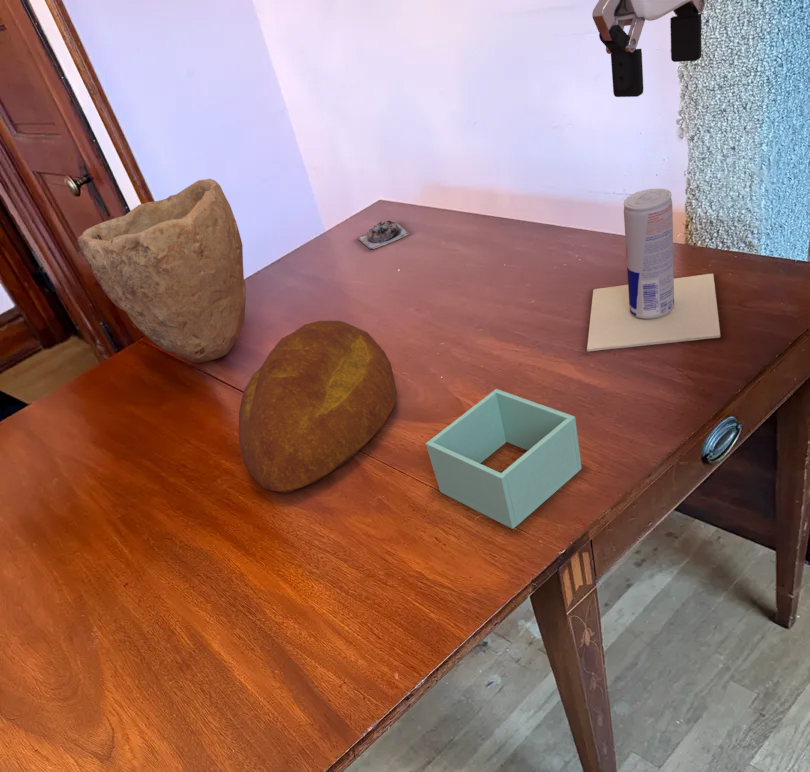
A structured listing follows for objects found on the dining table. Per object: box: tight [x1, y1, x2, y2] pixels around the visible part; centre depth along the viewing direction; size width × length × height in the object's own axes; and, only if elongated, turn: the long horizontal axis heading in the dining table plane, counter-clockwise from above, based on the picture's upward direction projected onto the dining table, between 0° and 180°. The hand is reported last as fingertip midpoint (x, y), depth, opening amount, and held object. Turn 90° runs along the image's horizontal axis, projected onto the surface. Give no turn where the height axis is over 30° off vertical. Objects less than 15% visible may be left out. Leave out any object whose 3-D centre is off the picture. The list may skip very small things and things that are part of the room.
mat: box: [586, 272, 721, 353], centre depth 100 cm, size 16×16×1 cm
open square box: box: [425, 388, 582, 530], centre depth 80 cm, size 11×11×7 cm
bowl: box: [77, 178, 247, 364], centre depth 117 cm, size 22×22×25 cm
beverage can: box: [623, 187, 675, 319], centre depth 94 cm, size 6×6×15 cm
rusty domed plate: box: [358, 220, 410, 250], centre depth 143 cm, size 8×8×2 cm
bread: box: [238, 320, 397, 494], centre depth 97 cm, size 21×33×12 cm, turn 163°
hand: (657, 77), depth 77 cm, fingers open, 9 cm apart
